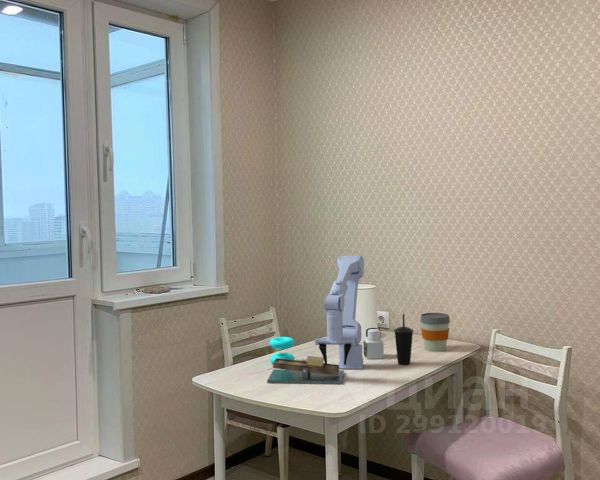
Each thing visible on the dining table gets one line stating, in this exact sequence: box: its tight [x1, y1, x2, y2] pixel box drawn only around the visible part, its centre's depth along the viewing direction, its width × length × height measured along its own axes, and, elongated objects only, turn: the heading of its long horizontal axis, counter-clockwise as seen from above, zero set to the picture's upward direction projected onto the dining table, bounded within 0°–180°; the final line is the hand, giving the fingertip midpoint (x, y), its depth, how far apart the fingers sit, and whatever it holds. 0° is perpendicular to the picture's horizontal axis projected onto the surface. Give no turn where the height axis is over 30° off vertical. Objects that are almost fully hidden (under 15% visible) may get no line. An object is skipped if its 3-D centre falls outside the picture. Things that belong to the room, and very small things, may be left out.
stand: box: [266, 367, 345, 385], centre depth 210 cm, size 27×14×5 cm, turn 83°
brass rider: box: [306, 355, 325, 367], centre depth 210 cm, size 6×4×3 cm
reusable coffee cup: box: [420, 312, 451, 353], centre depth 248 cm, size 13×13×15 cm
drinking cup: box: [393, 313, 414, 366], centre depth 226 cm, size 8×8×20 cm
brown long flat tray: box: [272, 358, 340, 375], centre depth 210 cm, size 24×6×2 cm, turn 83°
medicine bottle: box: [362, 327, 385, 360], centre depth 238 cm, size 7×7×12 cm
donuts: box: [269, 336, 296, 365], centre depth 231 cm, size 10×10×10 cm
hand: (335, 364), depth 209 cm, fingers open, 6 cm apart
